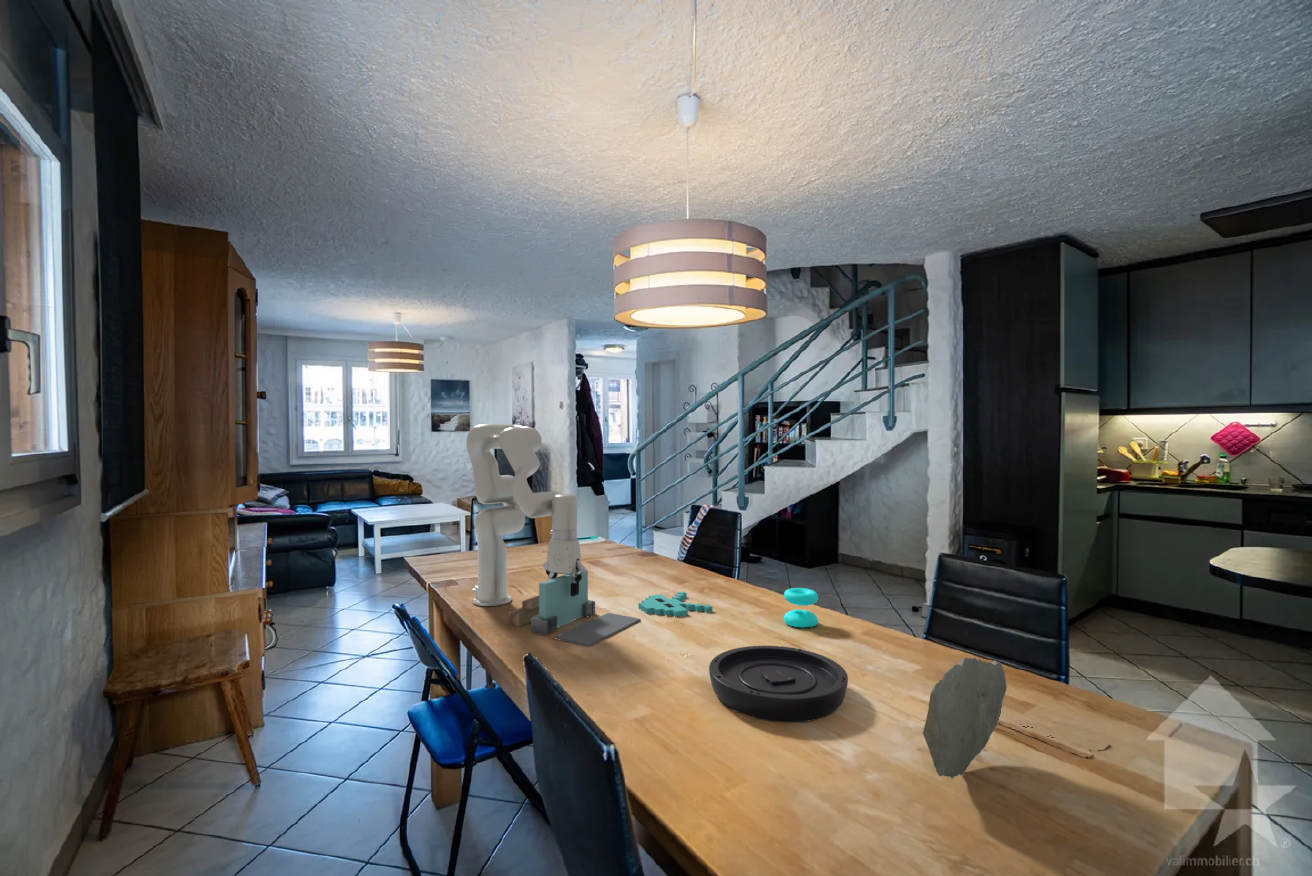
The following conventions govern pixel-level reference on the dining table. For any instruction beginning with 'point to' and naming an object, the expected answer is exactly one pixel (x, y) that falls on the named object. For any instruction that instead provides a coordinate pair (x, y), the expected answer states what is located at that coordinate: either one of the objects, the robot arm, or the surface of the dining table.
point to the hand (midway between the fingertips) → (564, 593)
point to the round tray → (778, 683)
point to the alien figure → (671, 605)
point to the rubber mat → (597, 629)
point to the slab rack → (551, 623)
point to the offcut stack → (525, 612)
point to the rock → (963, 713)
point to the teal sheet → (562, 599)
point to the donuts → (801, 598)
